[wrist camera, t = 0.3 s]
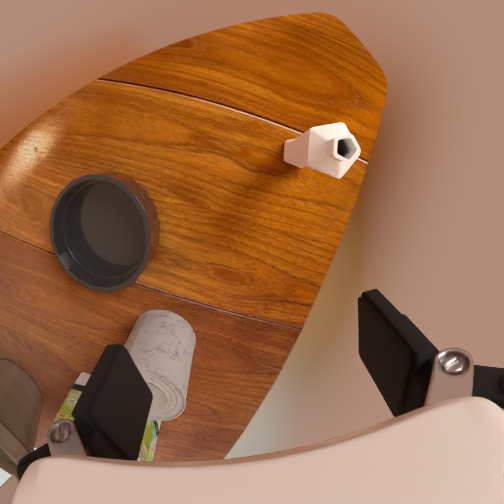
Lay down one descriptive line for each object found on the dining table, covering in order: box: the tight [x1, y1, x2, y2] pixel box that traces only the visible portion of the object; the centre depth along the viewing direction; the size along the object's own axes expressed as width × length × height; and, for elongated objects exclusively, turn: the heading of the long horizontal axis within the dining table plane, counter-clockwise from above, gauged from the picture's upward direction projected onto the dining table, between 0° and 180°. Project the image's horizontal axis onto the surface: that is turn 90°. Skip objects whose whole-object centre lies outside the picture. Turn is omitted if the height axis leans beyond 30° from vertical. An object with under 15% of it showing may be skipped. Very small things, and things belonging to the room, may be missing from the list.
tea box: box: [51, 372, 161, 461], centre depth 36 cm, size 15×10×15 cm
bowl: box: [50, 172, 159, 292], centre depth 31 cm, size 14×14×4 cm
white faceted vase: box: [284, 123, 361, 178], centre depth 25 cm, size 5×4×15 cm
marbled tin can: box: [124, 310, 196, 421], centre depth 33 cm, size 10×10×12 cm
